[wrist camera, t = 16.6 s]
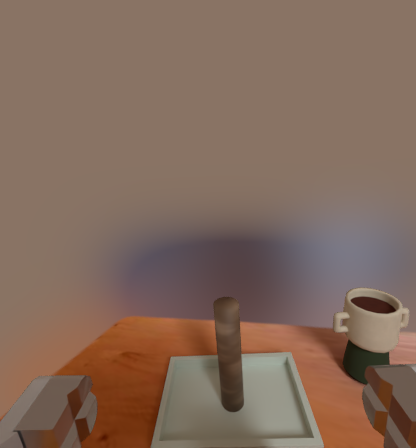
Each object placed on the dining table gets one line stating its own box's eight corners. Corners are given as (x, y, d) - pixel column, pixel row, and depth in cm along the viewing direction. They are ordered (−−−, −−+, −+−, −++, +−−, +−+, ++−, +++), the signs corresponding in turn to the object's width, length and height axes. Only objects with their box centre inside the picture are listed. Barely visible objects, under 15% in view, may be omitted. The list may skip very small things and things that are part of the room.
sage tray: (153, 463, 31) (150, 448, 31) (172, 368, 45) (170, 356, 44) (323, 460, 30) (324, 445, 30) (290, 364, 44) (290, 352, 43)
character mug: (384, 352, 45) (393, 284, 41) (417, 389, 38) (431, 312, 34) (320, 357, 45) (323, 289, 41) (341, 395, 38) (347, 318, 34)
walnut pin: (221, 412, 36) (213, 312, 32) (221, 391, 39) (213, 297, 35) (245, 412, 36) (239, 310, 31) (242, 391, 39) (237, 296, 34)
